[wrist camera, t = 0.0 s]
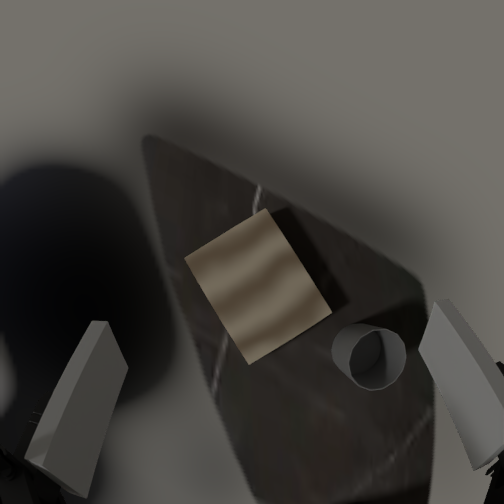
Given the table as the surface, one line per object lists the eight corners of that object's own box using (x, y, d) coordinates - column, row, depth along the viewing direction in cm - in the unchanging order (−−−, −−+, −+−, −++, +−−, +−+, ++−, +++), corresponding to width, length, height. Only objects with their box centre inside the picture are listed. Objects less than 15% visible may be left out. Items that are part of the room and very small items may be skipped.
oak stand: (326, 311, 46) (332, 312, 42) (250, 359, 46) (248, 364, 42) (265, 215, 49) (265, 208, 45) (190, 261, 48) (184, 258, 44)
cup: (353, 312, 46) (375, 316, 36) (389, 341, 45) (416, 350, 35) (321, 355, 45) (335, 369, 36) (358, 382, 44) (379, 401, 35)
